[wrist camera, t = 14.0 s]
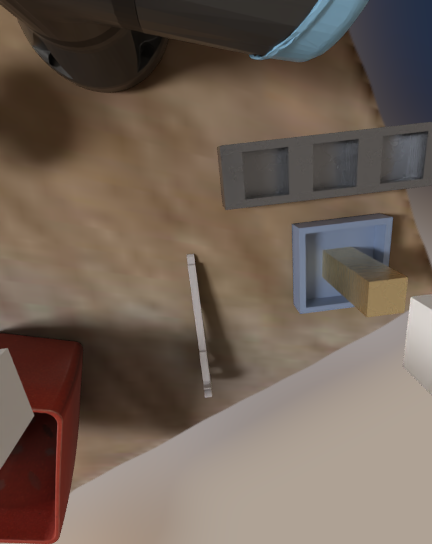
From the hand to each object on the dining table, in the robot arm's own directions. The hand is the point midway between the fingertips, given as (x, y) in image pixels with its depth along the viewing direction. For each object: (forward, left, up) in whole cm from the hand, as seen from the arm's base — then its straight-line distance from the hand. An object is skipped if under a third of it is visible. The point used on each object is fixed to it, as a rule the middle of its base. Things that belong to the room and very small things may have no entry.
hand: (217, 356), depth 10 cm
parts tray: (+9, +18, -32) cm, 38 cm away
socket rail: (-4, +16, -32) cm, 36 cm away
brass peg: (+9, +18, -31) cm, 37 cm away
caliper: (+16, -2, -32) cm, 36 cm away
